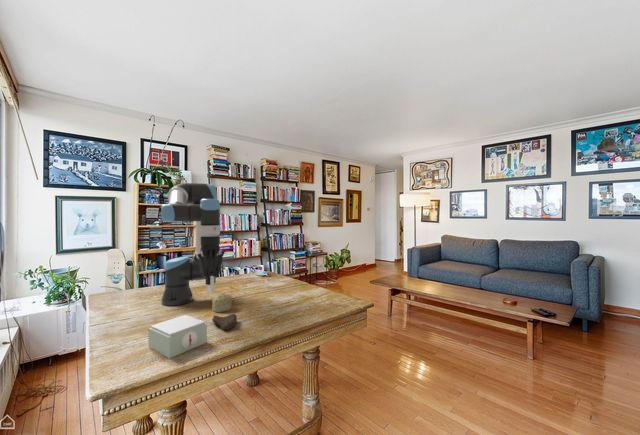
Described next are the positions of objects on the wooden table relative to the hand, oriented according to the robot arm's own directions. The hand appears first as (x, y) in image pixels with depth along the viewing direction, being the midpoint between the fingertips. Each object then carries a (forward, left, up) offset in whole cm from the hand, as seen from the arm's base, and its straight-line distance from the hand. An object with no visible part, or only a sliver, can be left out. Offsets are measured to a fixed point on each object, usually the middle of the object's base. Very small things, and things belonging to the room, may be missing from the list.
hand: (210, 291), depth 116 cm
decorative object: (-14, +14, -16) cm, 26 cm away
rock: (-1, +1, -16) cm, 16 cm away
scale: (+2, -15, -16) cm, 22 cm away
